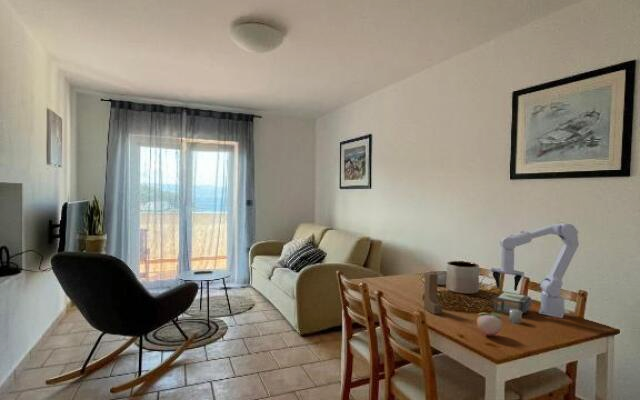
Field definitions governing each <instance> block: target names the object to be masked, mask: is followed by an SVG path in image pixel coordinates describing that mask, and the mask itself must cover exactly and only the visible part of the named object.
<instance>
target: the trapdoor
mask: <svg viewBox="0 0 640 400" xmlns="http://www.w3.org/2000/svg"><path fill="white" fill-rule="evenodd" d="M507 292H508V291H505V292H504V293H502V292H501V294H500V295H499V296H497V297H498V298H504V299H509V300H514V301H520V302H522V304H521V311H522V312H525V313H527V311H528V310H529V309H530V308H531V306H532V297H531V296H528V295H527V296H524V295H525V294H522V295H518V294H519V293H516V294H512V293H513V292H510V293H507Z"/></svg>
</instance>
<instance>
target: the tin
mask: <svg viewBox="0 0 640 400" xmlns="http://www.w3.org/2000/svg"><path fill="white" fill-rule="evenodd" d="M430 272H433V273H436V274H437V275H438V276H437V286H446V278H447V271H445V270H432V271H430Z"/></svg>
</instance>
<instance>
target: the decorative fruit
mask: <svg viewBox="0 0 640 400" xmlns="http://www.w3.org/2000/svg"><path fill="white" fill-rule="evenodd" d="M503 319H504V318H503V317H502V316H501V315H499V314H497V313H491V310H489V313H488V312H483V311H482V312H479V313H477V320H476V324H477V327H478V328H479V330H480V331H481V332H482V333H483V334H485V335H487V336H488V337H491V336H495V335H498V334H499V333H500V332H501V331H502V328H503V322H502V320H503Z"/></svg>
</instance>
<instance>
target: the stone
mask: <svg viewBox="0 0 640 400" xmlns="http://www.w3.org/2000/svg"><path fill="white" fill-rule="evenodd" d="M508 316H509V319H508V320H509V322H510V323H512V324H519V325H520V324H522V322H523V321H522V318H523V317H522V316H523V315H522V311H521V310H518V309H510V312H509V315H508Z"/></svg>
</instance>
